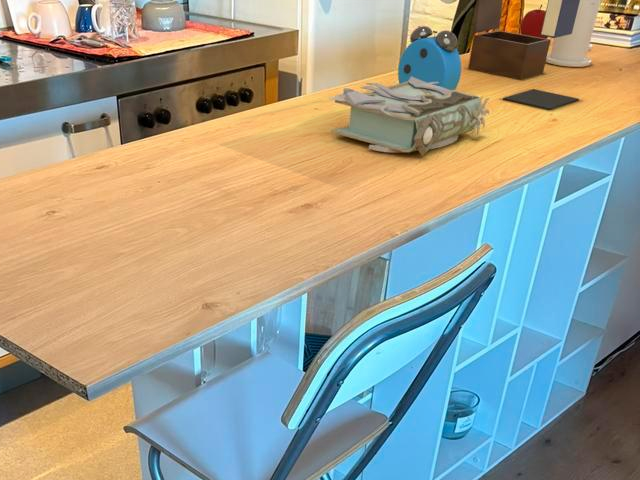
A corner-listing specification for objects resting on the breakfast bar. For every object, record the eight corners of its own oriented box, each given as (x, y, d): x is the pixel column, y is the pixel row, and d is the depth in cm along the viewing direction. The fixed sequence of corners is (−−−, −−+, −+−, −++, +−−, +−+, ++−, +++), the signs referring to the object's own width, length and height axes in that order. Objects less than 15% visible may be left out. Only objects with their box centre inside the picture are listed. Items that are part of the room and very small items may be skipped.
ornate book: (413, 170, 149) (496, 133, 166) (420, 113, 142) (506, 81, 159) (317, 143, 160) (404, 111, 177) (320, 90, 154) (410, 62, 171)
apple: (553, 43, 246) (562, 4, 240) (540, 46, 241) (548, 7, 234) (526, 38, 251) (534, 0, 244) (512, 42, 245) (519, 3, 239)
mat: (533, 90, 197) (533, 88, 197) (578, 100, 191) (579, 98, 190) (502, 99, 189) (503, 97, 189) (549, 110, 183) (549, 108, 182)
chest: (542, 73, 212) (550, 39, 207) (520, 79, 206) (527, 44, 201) (491, 63, 220) (497, 30, 215) (467, 68, 214) (473, 35, 209)
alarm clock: (455, 108, 181) (469, 31, 171) (438, 113, 178) (451, 34, 168) (409, 96, 188) (420, 22, 178) (392, 100, 185) (402, 24, 175)
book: (557, 31, 184) (572, -32, 177) (571, 34, 182) (587, -30, 175) (539, 35, 180) (554, -29, 172) (554, 38, 178) (569, -28, 170)
